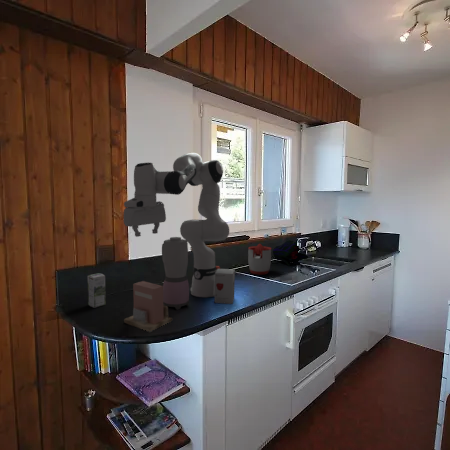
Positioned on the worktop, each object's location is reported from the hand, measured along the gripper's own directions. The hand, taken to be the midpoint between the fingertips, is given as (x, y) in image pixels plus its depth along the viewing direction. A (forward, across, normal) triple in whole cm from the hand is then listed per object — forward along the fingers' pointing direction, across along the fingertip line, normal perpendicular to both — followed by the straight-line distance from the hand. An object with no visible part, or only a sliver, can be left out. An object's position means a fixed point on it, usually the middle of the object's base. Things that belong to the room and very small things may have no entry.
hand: (146, 234), depth 127 cm
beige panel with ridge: (+34, +6, +6) cm, 36 cm away
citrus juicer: (+38, -90, +8) cm, 97 cm away
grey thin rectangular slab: (+33, +10, +6) cm, 35 cm away
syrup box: (+35, +7, -28) cm, 45 cm away
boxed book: (+33, +6, +7) cm, 34 cm away
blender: (+36, -15, +1) cm, 38 cm away
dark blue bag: (+39, -127, +16) cm, 134 cm away
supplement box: (+36, -32, +18) cm, 52 cm away
